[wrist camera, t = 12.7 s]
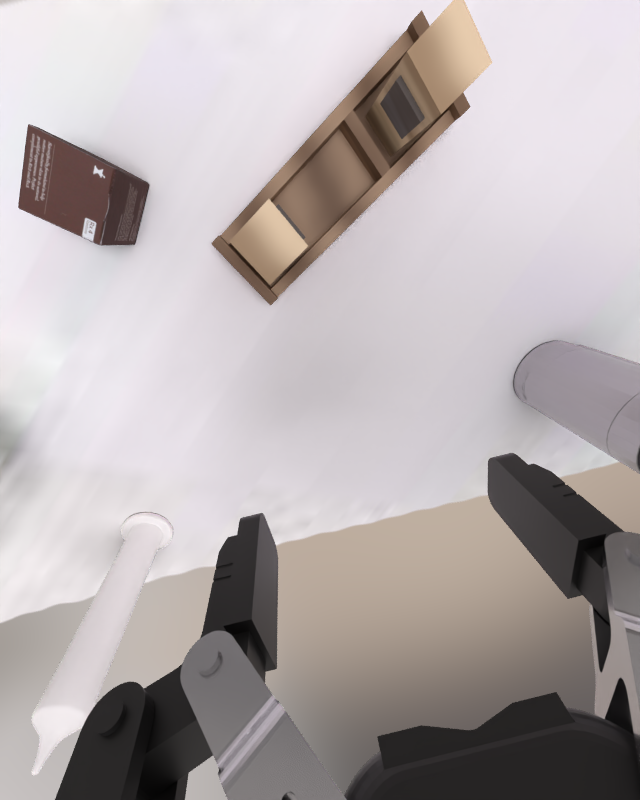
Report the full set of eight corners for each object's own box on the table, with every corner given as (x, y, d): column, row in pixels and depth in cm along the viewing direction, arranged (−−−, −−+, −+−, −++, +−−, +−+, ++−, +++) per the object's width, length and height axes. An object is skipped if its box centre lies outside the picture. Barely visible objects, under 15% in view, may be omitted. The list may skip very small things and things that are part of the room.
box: (83, 148, 30) (26, 119, 23) (151, 184, 31) (117, 166, 25) (70, 216, 32) (14, 208, 25) (135, 247, 33) (99, 246, 27)
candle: (112, 532, 48) (-37, 784, 25) (142, 503, 46) (11, 744, 24) (154, 554, 51) (53, 800, 28) (183, 528, 49) (101, 765, 26)
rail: (401, 43, 29) (474, -79, 18) (446, 124, 32) (531, 61, 21) (219, 244, 34) (191, 242, 23) (271, 299, 37) (268, 320, 26)
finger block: (399, 79, 29) (460, -8, 19) (423, 122, 31) (492, 62, 21) (361, 120, 30) (401, 56, 20) (387, 159, 32) (436, 119, 22)
